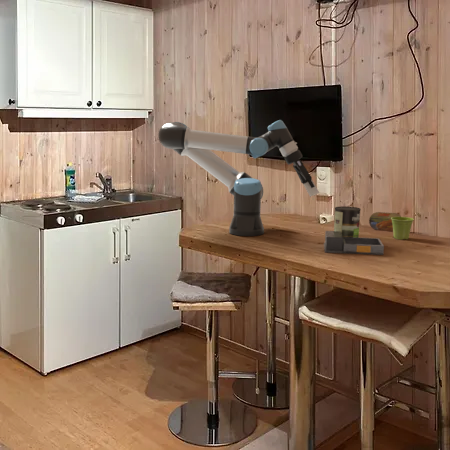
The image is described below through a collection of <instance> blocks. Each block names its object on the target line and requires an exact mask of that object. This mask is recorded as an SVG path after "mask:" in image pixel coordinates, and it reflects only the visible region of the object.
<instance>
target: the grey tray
mask: <svg viewBox="0 0 450 450" xmlns="http://www.w3.org/2000/svg"><path fill="white" fill-rule="evenodd" d="M324 239H325V240H324V242H323V249H324V253H330V254H331V253H332V254H351V255H373V256H374V255H376V256H384V254H385V253H384V249H385V245H384V244H383V242H382V241H381V239H380V238H379V237H378V238H377V237H374V238H373V237H360V236H359V237H343V236H342V233H341V231H334V230H325V237H324Z"/></svg>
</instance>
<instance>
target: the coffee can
mask: <svg viewBox="0 0 450 450" xmlns="http://www.w3.org/2000/svg"><path fill="white" fill-rule="evenodd" d="M361 211H362V209H361V208H360V207H355V206H345V205H344V206H342V205H340V206H335V207H334V223H333V224H334V225H333V231H341V233H342V236H343V237H359V238H360V235H359V234H360V219H361V218H360V217H361Z"/></svg>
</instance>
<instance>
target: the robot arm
mask: <svg viewBox="0 0 450 450" xmlns="http://www.w3.org/2000/svg"><path fill="white" fill-rule="evenodd" d="M157 135H158V141H159V142H160V144H161V145H162V146H163V147H164V148H165V149H167V150H168V149H169V150H173V151H174V152H176V153H177V154H179V156H182V157H183V156H186V157H188V158H189V159H191V160H192V161H193V162H194V163H196V164H197V165H198V166H200V168H202V169H203V170H205V171H206V172H207V173H209V174H210V175H211V176H213V177H214V178H216V179H217V180H218V181H219V182H220V183H222V184H224V185H225V187H227V188H228V193H229V194H231V195H232V196H233V216H232V219H231V222H230V224H229V230H228V233H229V234H231V235H233V236H234V235H235V236H239V237H241V236H242V237H243V236H244V237H255V236H261V235H264V234H265V229H264V224H263V221H262V216H261V208H262V207H261V204H262V203H261V202H262V198H263V196H264V187H263V184H262V183H261V180H259V179H257V178H253V177H252V176H251V175H249V174H248V173H246V171H239V170H238V169H236V168H234V167H233V166H232V165H230V164H229V162H227V161H225V160H224V159H223V158H221V157H220V156H219V155H217V154H216V153H215V152H214V151H216V152H217V151H218V152H225V153H234V154H243V155H250V156H251V157H252V158H253V159H257V158H259V157H262V156H264V155H266V153H267V152H269V151H271V150H272V149H274V148H276V147H277V148H278V149H279V152H280V153H281V155H282V157H284V160H285V162H286V164H287V165H291V164H293V165H292V167H293V168H294V170H295V172H296V174H297V176H298V178H299V180H300V182H301V184H302V185H303V186H304V187H303V188H305V190H306V193H307V194H308V196H309V197H310V198H311V197H312V196H314V197H315V196H316V195H318V194H320V191H319V189H318V188H317V186H316V184H315V182H314V180H313V179H312V178H313V177H312V175H311V174H310V173H309V171H308V169H307V168H306V166H305V165H304V163H303V161H302V160H301V158H303V153H302V152H301V150H300V149H299V147H298V145H297V144H298V142H296V141H295V140H294V139H293V136H292V135H291V133H290V131H289V129H288V127H287V126H286V124H285V123H284V121H283V120H282V119H279V120H276V121H274V122H273V123H271V124H269V125H268V126H267V132H265V133H264V134H262V135H260V136H258V137H255V136H248V135H247V136H246V135H239V134H232V133H231V134H228V133H221V132H214V131H207V130H206V131H205V130H198V129H197V130H196V129H191V128H190V126H188V125H186V124H185V123H183V122H179V121H174V122H172V121H170V122H166V123H164V124H163V125H162V126H161V127H160V128H159V130H158V134H157Z"/></svg>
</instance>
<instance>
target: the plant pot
mask: <svg viewBox="0 0 450 450" xmlns="http://www.w3.org/2000/svg"><path fill="white" fill-rule="evenodd" d="M391 219H392V223H393V231H392V233H393V238H394V239H396V240H400V241H402V240H409V238H410V232H411V228H412V224H413V221H414V220H415V219H414V218H413V217H407V216H401V217H391Z"/></svg>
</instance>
